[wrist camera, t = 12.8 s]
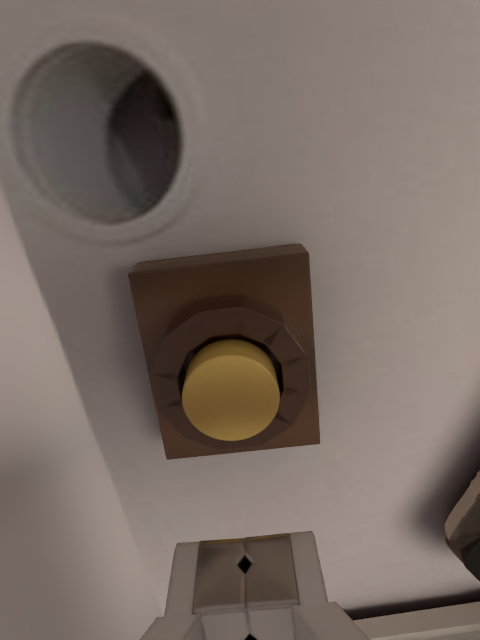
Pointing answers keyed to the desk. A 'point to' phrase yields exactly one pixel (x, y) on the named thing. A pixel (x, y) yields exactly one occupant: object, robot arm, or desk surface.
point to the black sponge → (466, 528)
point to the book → (426, 624)
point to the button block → (229, 337)
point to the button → (231, 390)
